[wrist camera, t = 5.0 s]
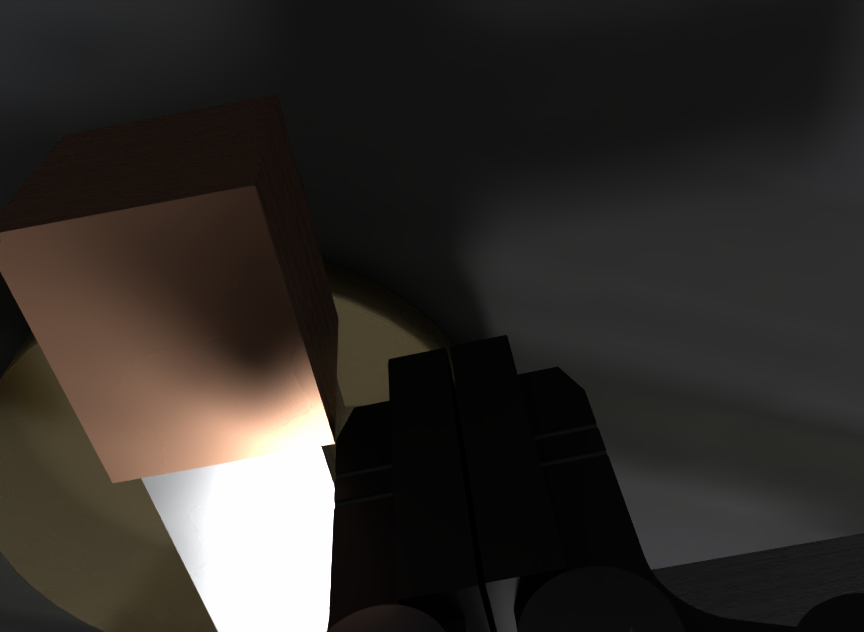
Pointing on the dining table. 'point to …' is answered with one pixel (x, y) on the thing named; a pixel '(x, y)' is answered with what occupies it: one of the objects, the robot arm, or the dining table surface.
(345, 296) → the capstan
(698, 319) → the dining table surface
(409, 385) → the robot arm
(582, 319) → the dining table surface
